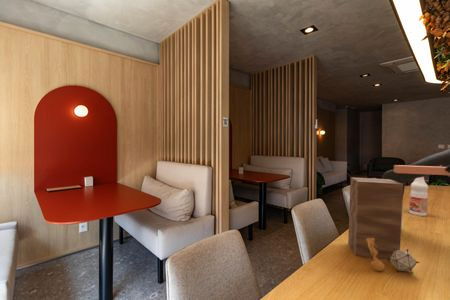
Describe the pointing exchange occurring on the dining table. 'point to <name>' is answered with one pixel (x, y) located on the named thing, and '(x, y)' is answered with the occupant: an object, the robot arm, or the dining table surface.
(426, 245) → the dining table surface
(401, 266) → the game die
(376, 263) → the figurine
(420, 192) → the fruit juice
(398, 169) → the terracotta bar
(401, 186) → the walnut pedestal
